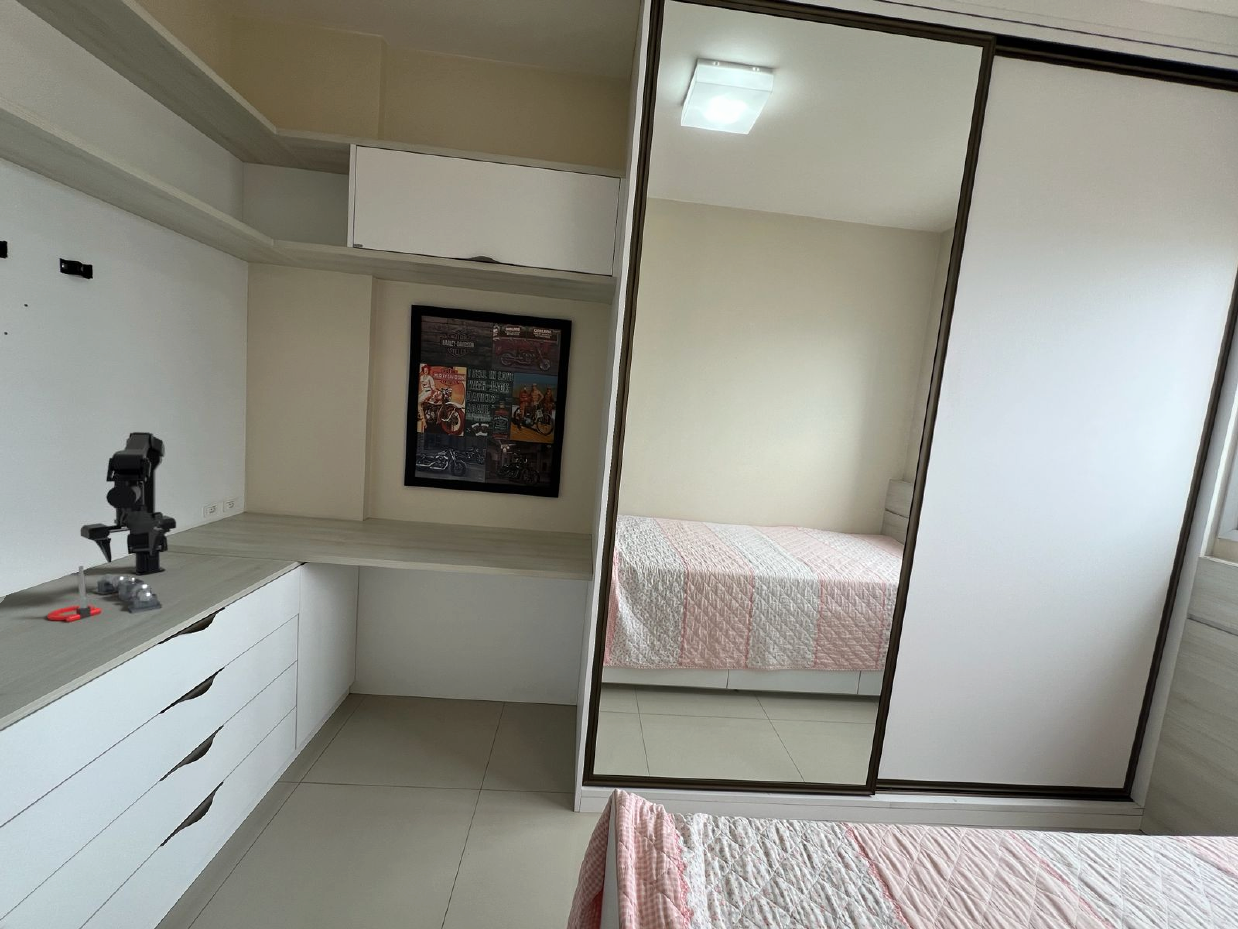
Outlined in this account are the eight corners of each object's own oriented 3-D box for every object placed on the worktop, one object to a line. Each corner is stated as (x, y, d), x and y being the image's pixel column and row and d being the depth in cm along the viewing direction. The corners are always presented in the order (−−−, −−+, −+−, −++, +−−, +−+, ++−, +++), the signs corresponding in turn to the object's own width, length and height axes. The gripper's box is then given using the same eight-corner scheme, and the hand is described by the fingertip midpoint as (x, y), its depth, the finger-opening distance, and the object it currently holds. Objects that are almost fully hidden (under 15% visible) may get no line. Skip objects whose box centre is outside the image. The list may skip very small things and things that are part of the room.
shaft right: (162, 607, 149) (161, 588, 149) (132, 613, 145) (131, 593, 144) (155, 599, 154) (155, 581, 153) (126, 604, 149) (126, 585, 149)
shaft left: (92, 592, 156) (91, 574, 155) (116, 585, 161) (116, 568, 161) (110, 596, 154) (110, 578, 153) (135, 590, 159) (134, 572, 159)
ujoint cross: (117, 597, 154) (116, 576, 153) (135, 593, 157) (135, 573, 157) (128, 603, 151) (128, 582, 150) (146, 599, 154) (146, 578, 154)
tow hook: (38, 619, 138) (65, 624, 136) (35, 567, 137) (62, 571, 135) (79, 608, 146) (105, 612, 144) (77, 558, 145) (103, 562, 143)
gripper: (98, 510, 139) (99, 572, 141) (186, 501, 155) (186, 557, 157) (78, 503, 144) (80, 563, 146) (165, 495, 161) (166, 549, 162)
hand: (131, 558), depth 153 cm, fingers open, 9 cm apart
